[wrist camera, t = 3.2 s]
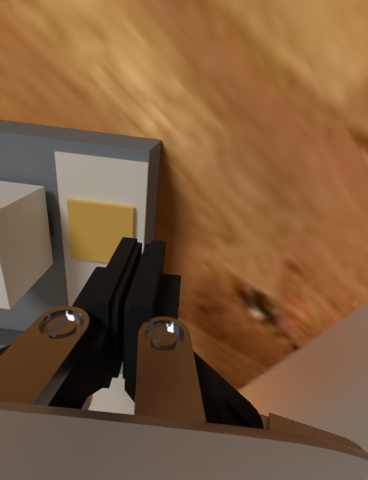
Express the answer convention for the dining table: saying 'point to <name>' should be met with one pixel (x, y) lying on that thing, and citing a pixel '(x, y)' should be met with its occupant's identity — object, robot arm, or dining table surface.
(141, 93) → the dining table surface
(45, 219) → the slider
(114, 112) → the dining table surface
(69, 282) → the console
